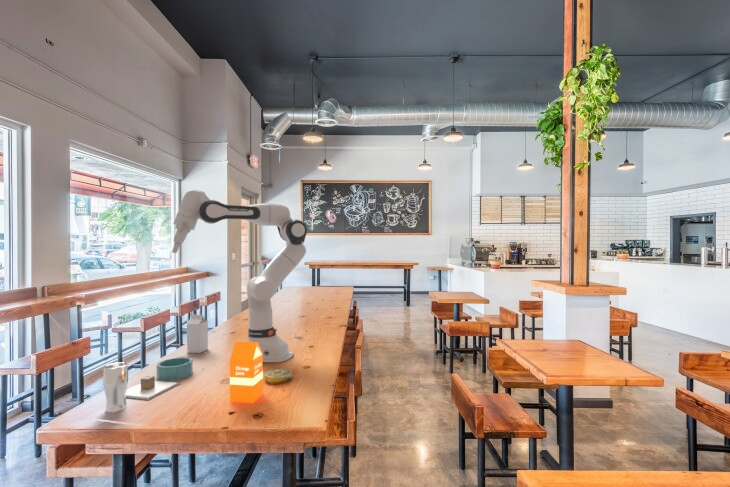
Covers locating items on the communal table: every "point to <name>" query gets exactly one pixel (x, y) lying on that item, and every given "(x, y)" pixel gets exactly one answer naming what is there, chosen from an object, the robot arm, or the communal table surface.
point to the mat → (154, 396)
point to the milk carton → (197, 334)
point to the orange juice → (246, 372)
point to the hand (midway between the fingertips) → (174, 252)
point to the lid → (148, 388)
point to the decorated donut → (277, 376)
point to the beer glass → (115, 386)
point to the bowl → (174, 369)
